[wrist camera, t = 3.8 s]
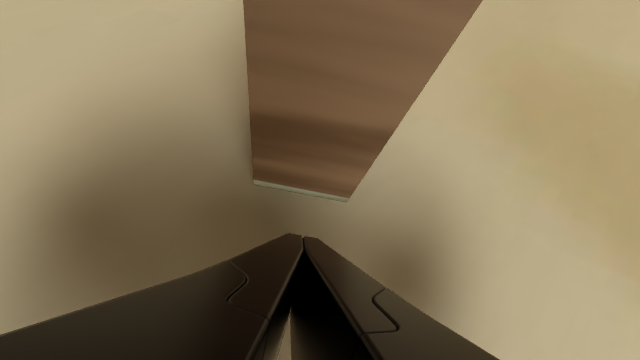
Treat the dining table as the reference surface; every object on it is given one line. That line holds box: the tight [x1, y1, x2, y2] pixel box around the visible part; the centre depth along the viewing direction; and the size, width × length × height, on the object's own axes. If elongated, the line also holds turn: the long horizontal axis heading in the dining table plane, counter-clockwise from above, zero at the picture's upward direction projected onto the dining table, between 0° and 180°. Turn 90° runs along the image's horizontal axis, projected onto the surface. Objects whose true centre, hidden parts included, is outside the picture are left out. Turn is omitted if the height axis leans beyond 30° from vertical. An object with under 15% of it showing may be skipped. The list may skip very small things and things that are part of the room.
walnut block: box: [243, 0, 482, 202], centre depth 13 cm, size 5×5×14 cm
